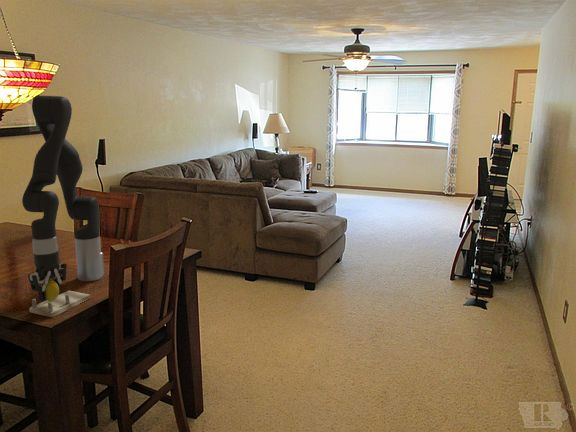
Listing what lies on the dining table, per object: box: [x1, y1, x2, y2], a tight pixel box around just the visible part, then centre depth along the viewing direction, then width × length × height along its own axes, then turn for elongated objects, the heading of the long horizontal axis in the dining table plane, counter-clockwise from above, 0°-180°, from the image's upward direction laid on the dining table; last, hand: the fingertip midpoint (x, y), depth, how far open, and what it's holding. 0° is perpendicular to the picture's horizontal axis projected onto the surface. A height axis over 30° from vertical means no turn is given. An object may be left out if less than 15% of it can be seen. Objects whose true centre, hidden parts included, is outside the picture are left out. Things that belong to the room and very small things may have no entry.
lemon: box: [41, 279, 59, 302], centre depth 161 cm, size 6×6×8 cm
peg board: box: [29, 290, 91, 318], centre depth 166 cm, size 17×10×4 cm, turn 159°
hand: (50, 297), depth 161 cm, fingers closed on lemon, 5 cm apart
